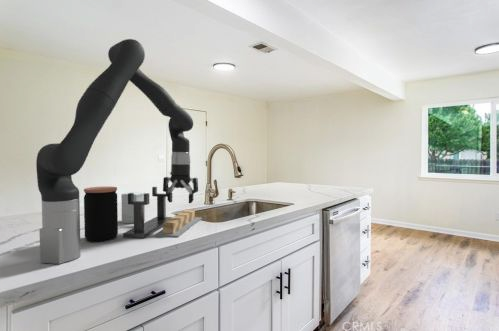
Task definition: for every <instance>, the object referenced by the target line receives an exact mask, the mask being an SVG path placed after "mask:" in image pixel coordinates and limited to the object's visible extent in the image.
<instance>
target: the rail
mask: <svg viewBox="0 0 499 331" xmlns="http://www.w3.org/2000/svg"><path fill="white" fill-rule="evenodd" d="M171 217H172V218H170V219H169V220H167V221H165V222H163V227H162V230H163V233H164V234H174V233H175V232H176V231H178V230H179V229H181V228H182V227H183V226H185V225H186V224H188V223H189V222H190V221H192V220H193V219H195V217H196V210H195V209H185V210H183V211H181V212H179V213H178V214H176V215H174V216H171Z"/></svg>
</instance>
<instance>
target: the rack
mask: <svg viewBox="0 0 499 331" xmlns="http://www.w3.org/2000/svg"><path fill="white" fill-rule="evenodd" d="M169 188H170V186H168V189H169ZM151 189H152V190H151V191H152V192H151V193H152V194H151V195H152V196H151V197H156V201H157V202H156V206H157V207H156V210H157V214H156V215H157V216H155V217H153V218H151V219H149V220H147V221H145V220H144V205H145V206H148V205H150V193H148V192H147V193H146V192H144V193H145V194H144V201H134V193H130V192H127V193H128V204H131V205H134V223H133V228H131V229H129V230H127V231H125V232H123V233H122V238H126V239H127V238H128V239H129V238H130V239H145V238H148V237H149V236H150V235H152V234H154V233H156V232H157V231H158V230H159V231H160V229H163V222H165V221H167V220H169V219H170V218H172V217H173V216H167V214H166V213H167V211H166V209H167V205H166V202H167V201H166V199H167V198H168V194H167V192H165V193H158V187H157V186H152V187H151ZM166 197H167V198H166Z"/></svg>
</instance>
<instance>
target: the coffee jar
mask: <svg viewBox="0 0 499 331" xmlns="http://www.w3.org/2000/svg"><path fill="white" fill-rule="evenodd" d="M117 191H118V187H117V186H93V187H92V186H91V187H85V188H83V192H84V196H83V215H84V216H83V217H84V222H83V224H84V238H85V240H87V242H90V243H103V242H108V241H111V240H114V239H117V236H118V235H119V224H118V223H119V222H118V221H119V220H118V219H119V218H118V216H119V215H118V214H119V213H118V193H117Z"/></svg>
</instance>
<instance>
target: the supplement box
mask: <svg viewBox="0 0 499 331" xmlns="http://www.w3.org/2000/svg"><path fill="white" fill-rule="evenodd" d="M128 193H134V201H144V194H145V193H146V192H142V191H141V192H140V191H138V192H137V191H131V192H127V193H121V223H123V224H125V223H126V224H134V205H131V204H128ZM144 221H146V205H144Z"/></svg>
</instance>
